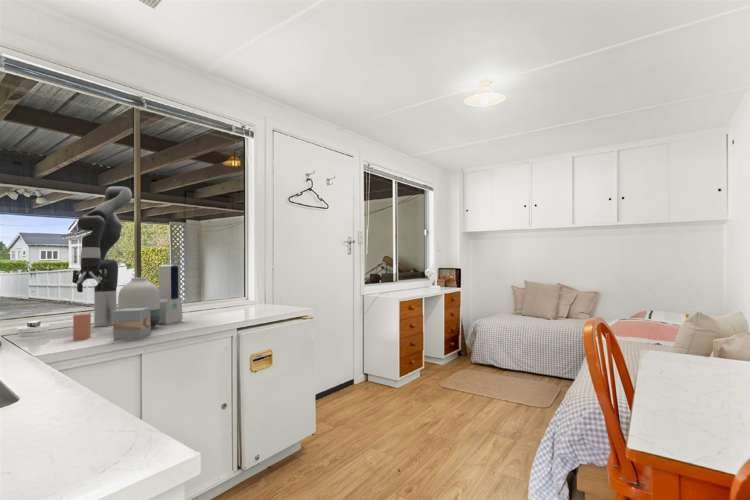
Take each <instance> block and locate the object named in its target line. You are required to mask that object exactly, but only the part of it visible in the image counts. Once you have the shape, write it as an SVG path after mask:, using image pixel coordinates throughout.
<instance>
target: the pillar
mask: <svg viewBox="0 0 750 500" xmlns="http://www.w3.org/2000/svg"><path fill="white" fill-rule="evenodd" d="M91 314H92V313H90V312H89V313H88V312H87V313H76V314H74V315H73V317H72V318H73V319H72V325H73V327H72V329H73V330H72V332H73V333H72V336H73V337H72V340H73V341H81V340H89V339H90V338H91V336H92V335H91V332H92V331H91V325H92V323H91V319H92V317H91V316H92V315H91Z"/></svg>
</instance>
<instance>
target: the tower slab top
mask: <svg viewBox="0 0 750 500" xmlns="http://www.w3.org/2000/svg"><path fill="white" fill-rule="evenodd" d="M148 317H150V308H125V309H121V310H118V309H117V311H113V321H131V320H142V319H145V318H148Z"/></svg>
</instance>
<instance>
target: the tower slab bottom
mask: <svg viewBox="0 0 750 500" xmlns="http://www.w3.org/2000/svg"><path fill="white" fill-rule="evenodd" d="M151 334H152V328H151V326H149V327H147V328H144V329H141V330H128V331H113V341H115V340H117V341H118V340H141V339H142V338H145V337H147V336H151Z"/></svg>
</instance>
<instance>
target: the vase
mask: <svg viewBox="0 0 750 500" xmlns="http://www.w3.org/2000/svg"><path fill="white" fill-rule="evenodd" d="M125 308H150V317H151V329H152V328H154V327H156V326H157V325H159V324H158V322H159V319H160V293H159V287H158V286H156V285H155V284H154V283H153V282H151V281H149V279H148V277H131V279H130V281H129V282H127V283H126V284H125V285H123V286H122V287H121V288H120V290H119V292H118V295H117V310H121V309H125Z"/></svg>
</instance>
